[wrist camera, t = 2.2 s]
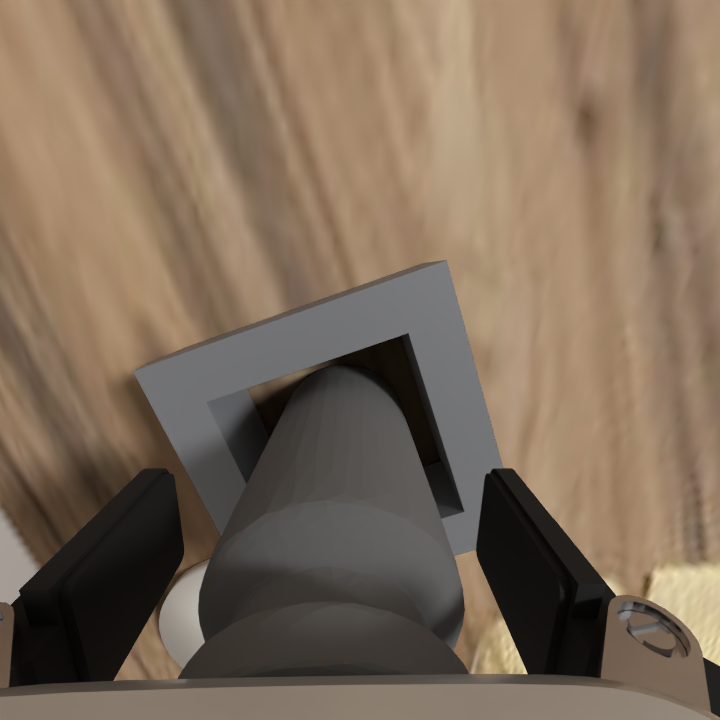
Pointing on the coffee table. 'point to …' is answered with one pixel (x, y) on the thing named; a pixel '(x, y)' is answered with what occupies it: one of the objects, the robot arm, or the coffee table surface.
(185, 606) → the white round part
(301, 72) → the coffee table surface
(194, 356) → the square frame
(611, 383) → the coffee table surface
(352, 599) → the bottle
